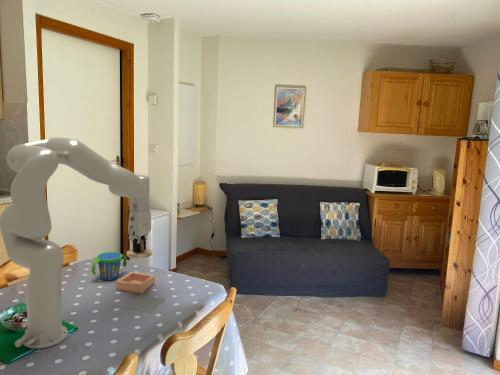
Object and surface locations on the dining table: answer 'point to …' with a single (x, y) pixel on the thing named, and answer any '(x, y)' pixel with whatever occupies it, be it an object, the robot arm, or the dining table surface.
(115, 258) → the snack cup
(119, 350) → the dining table surface
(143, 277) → the dish
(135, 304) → the mat
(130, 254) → the lid
